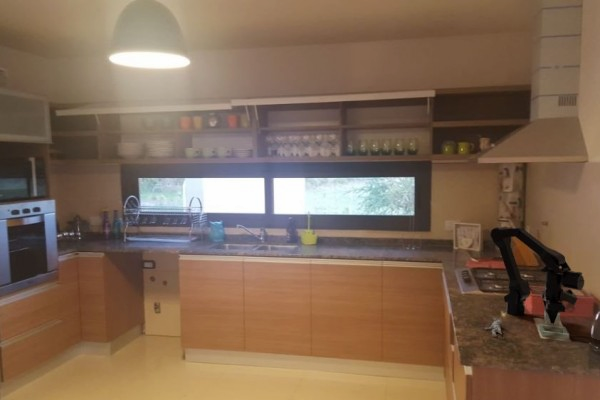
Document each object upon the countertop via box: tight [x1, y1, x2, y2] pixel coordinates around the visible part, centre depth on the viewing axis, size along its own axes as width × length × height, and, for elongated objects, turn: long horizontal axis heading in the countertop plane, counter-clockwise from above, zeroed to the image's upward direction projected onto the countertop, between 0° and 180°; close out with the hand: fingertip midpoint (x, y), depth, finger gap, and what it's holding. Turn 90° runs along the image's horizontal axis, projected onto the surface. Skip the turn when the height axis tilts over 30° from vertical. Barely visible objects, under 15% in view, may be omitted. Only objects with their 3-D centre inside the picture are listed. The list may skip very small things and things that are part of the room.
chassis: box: [533, 317, 572, 344], centre depth 181 cm, size 10×23×3 cm, turn 159°
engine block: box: [543, 309, 561, 326], centre depth 186 cm, size 5×4×5 cm
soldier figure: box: [484, 317, 503, 338], centre depth 181 cm, size 8×5×12 cm
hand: (551, 321), depth 186 cm, fingers closed on engine block, 4 cm apart
